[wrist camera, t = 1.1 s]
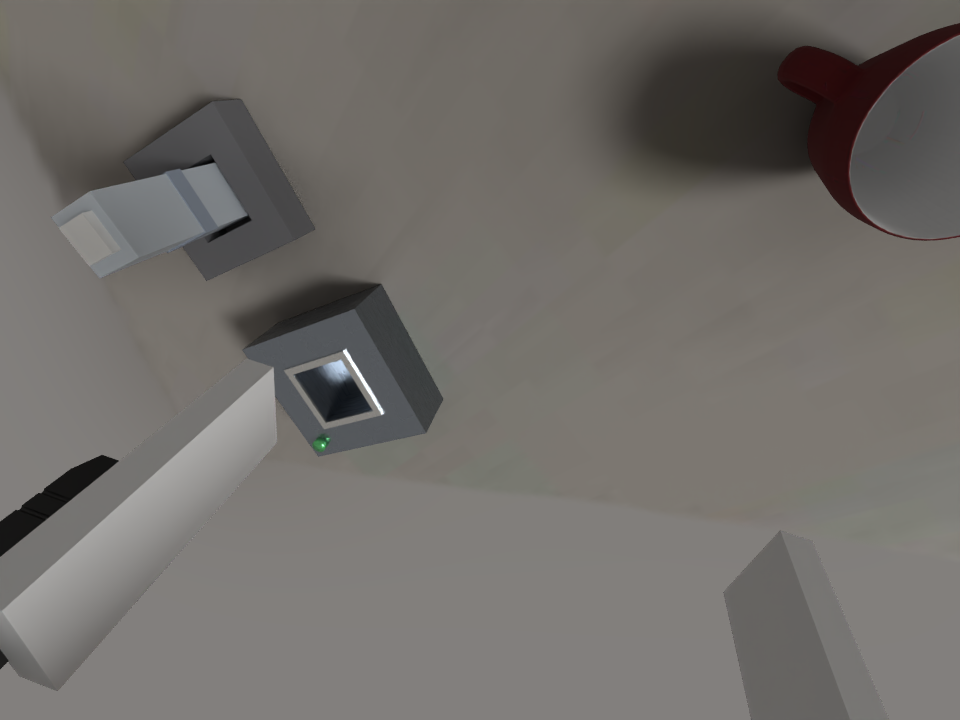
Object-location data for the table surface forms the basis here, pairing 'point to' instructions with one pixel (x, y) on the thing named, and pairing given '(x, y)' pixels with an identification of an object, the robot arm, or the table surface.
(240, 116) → the holster
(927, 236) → the mug
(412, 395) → the port
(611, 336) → the table surface
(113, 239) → the plug
